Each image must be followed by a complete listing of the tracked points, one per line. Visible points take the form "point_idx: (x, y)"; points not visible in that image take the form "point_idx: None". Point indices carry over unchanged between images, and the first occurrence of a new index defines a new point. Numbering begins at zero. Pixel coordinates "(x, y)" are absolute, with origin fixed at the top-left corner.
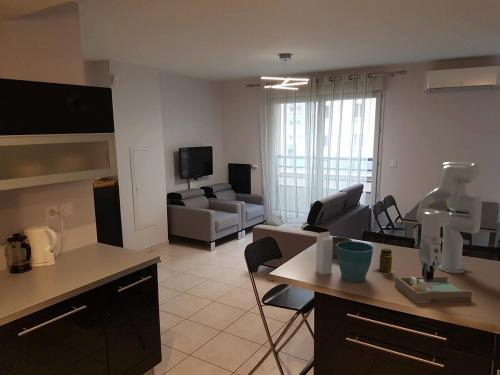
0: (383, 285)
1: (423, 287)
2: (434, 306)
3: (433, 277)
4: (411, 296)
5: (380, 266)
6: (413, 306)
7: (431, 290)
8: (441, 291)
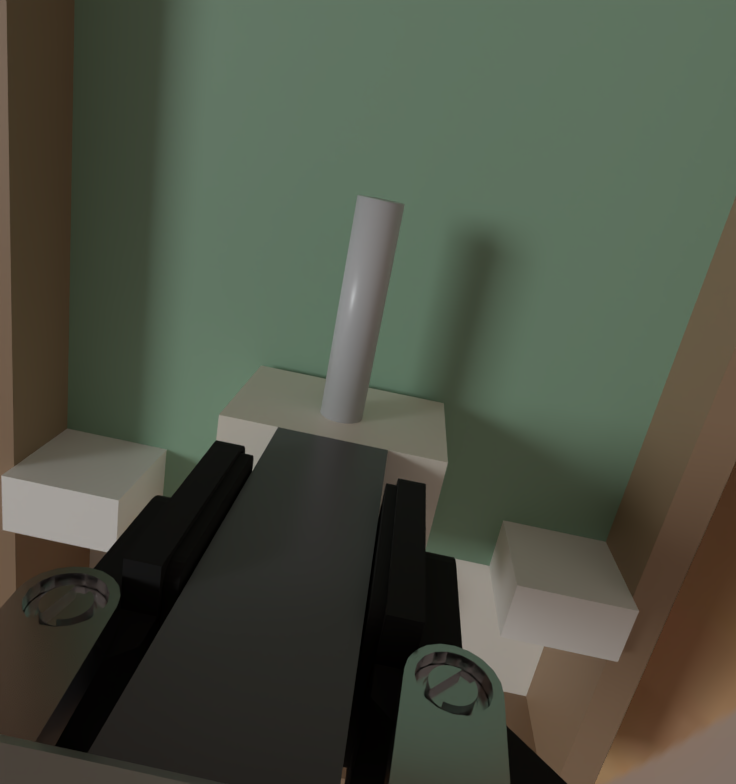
0: None
1: None
2: (712, 586)
3: (12, 20)
4: None
5: None
6: (605, 775)
7: (628, 635)
8: (694, 465)
